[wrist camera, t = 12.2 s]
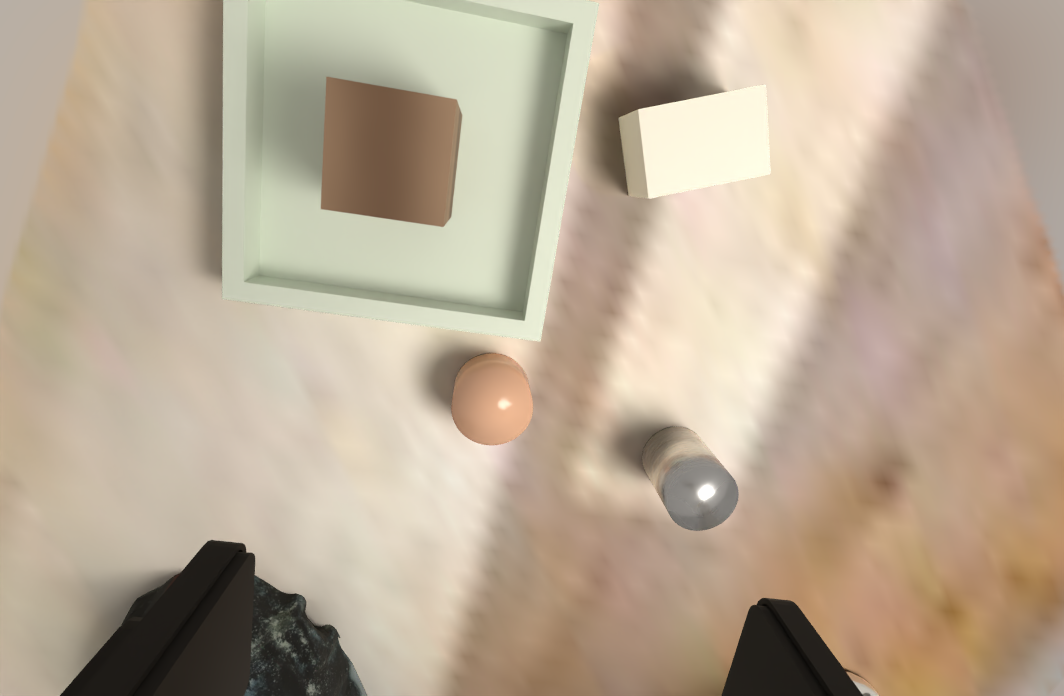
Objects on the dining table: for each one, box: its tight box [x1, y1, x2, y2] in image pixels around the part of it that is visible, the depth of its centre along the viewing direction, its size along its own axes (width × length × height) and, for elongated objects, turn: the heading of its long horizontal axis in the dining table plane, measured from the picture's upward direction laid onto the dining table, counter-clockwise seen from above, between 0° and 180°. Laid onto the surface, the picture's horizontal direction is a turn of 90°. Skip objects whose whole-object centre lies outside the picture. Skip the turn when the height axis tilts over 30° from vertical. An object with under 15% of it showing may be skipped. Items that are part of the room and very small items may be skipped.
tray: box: [222, 0, 599, 342], centre depth 27 cm, size 16×16×3 cm
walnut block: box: [321, 77, 462, 227], centre depth 25 cm, size 5×5×6 cm
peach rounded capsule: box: [451, 353, 533, 445], centre depth 31 cm, size 4×4×3 cm
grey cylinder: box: [642, 427, 738, 531], centre depth 33 cm, size 4×4×5 cm
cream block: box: [618, 84, 771, 199], centre depth 28 cm, size 6×4×4 cm, turn 101°
